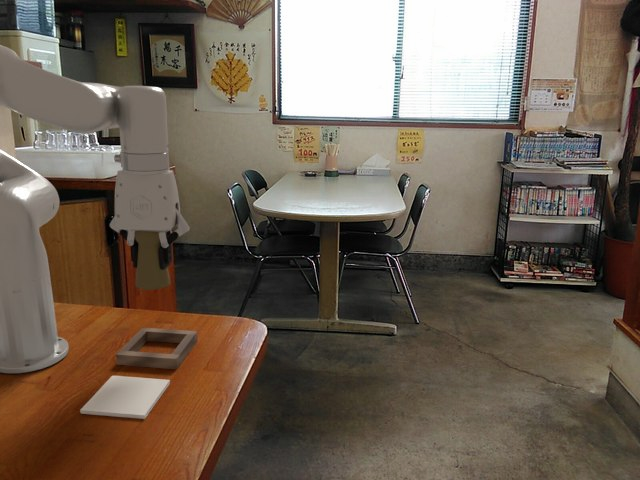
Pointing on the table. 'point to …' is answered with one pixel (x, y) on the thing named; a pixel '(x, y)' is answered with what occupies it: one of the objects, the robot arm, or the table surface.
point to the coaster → (126, 397)
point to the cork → (149, 262)
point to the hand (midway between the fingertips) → (152, 265)
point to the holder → (157, 360)
